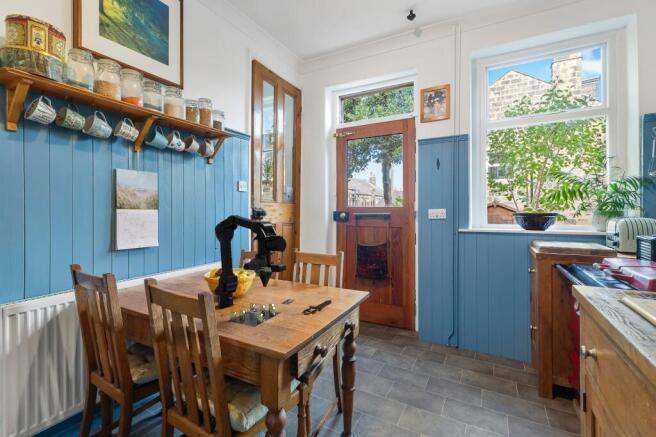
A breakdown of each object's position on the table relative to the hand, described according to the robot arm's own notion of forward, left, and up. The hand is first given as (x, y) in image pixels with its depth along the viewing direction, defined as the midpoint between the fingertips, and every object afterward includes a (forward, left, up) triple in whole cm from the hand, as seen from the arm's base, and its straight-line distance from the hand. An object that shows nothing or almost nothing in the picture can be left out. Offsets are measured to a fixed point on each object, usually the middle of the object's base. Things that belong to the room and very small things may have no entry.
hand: (264, 286), depth 131 cm
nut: (-2, -3, -12) cm, 13 cm away
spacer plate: (-3, -3, -13) cm, 14 cm away
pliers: (-3, +16, -14) cm, 21 cm away
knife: (+15, +21, -14) cm, 29 cm away
